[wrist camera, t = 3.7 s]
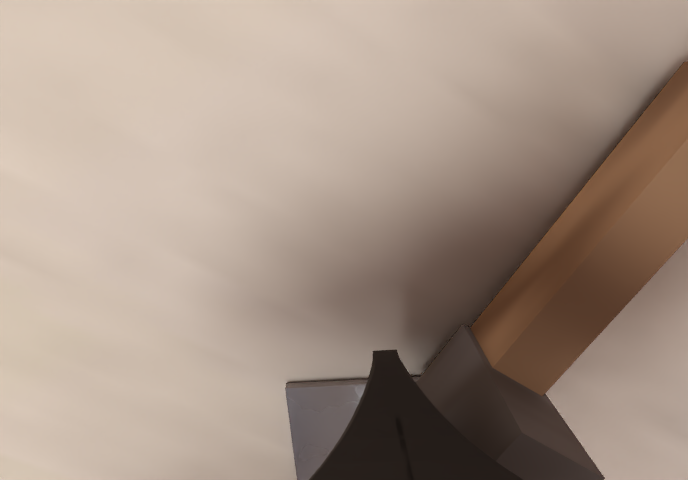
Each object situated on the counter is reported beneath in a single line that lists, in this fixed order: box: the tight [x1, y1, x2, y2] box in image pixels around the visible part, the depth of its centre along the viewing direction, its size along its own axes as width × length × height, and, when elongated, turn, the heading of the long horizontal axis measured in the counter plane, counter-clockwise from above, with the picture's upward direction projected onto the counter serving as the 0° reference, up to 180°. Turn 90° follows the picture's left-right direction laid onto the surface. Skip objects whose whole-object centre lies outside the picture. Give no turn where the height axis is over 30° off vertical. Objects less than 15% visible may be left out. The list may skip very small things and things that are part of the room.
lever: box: [416, 61, 688, 480], centre depth 11 cm, size 14×4×5 cm, turn 148°
